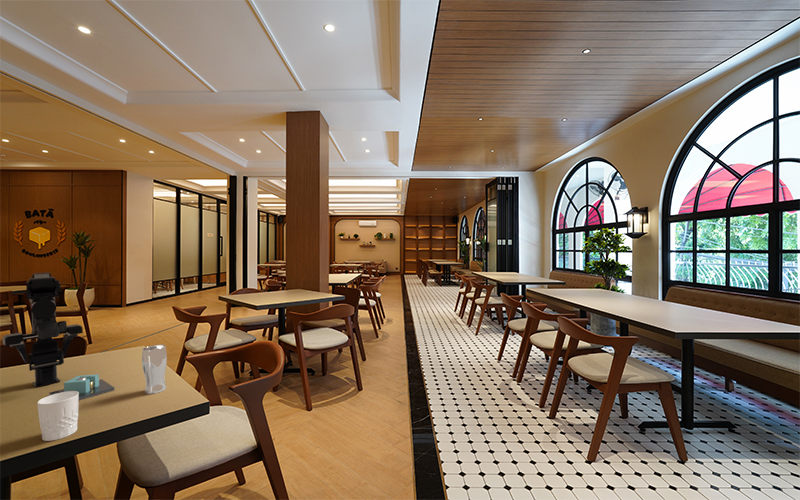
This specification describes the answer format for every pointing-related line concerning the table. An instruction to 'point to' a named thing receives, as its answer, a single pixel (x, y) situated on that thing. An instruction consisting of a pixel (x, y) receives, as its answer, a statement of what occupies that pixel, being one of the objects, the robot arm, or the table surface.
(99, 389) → the base plate
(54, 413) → the white cup
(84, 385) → the teal u-channel block
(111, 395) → the table surface
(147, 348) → the beer glass
